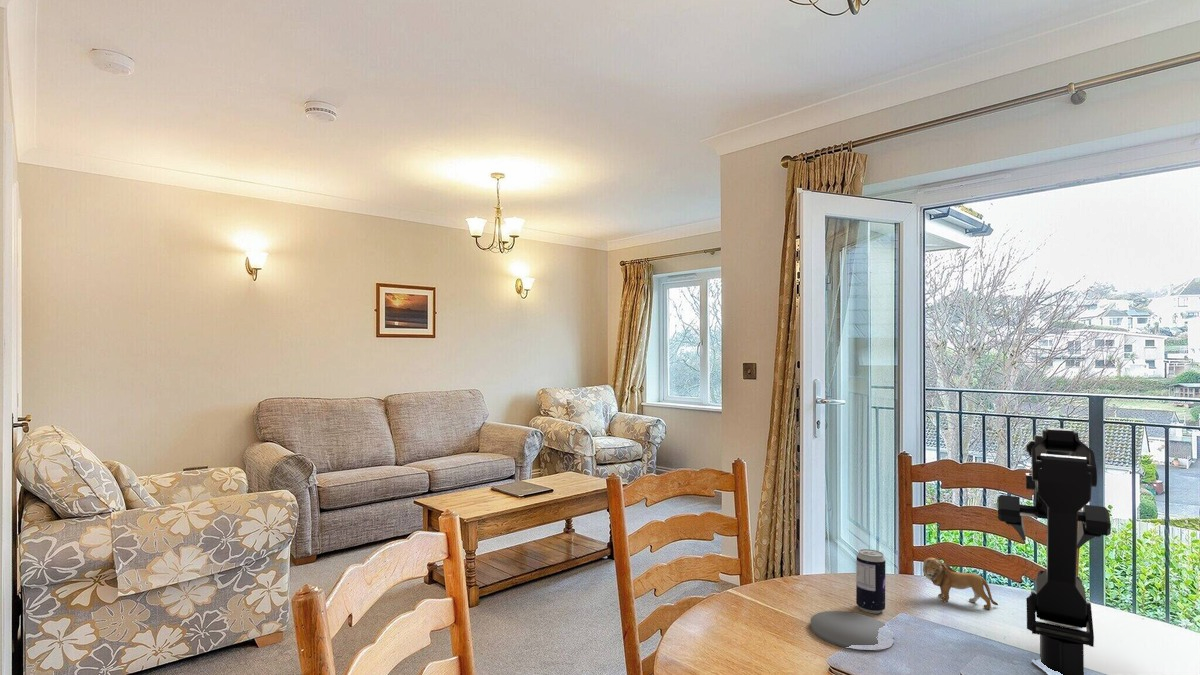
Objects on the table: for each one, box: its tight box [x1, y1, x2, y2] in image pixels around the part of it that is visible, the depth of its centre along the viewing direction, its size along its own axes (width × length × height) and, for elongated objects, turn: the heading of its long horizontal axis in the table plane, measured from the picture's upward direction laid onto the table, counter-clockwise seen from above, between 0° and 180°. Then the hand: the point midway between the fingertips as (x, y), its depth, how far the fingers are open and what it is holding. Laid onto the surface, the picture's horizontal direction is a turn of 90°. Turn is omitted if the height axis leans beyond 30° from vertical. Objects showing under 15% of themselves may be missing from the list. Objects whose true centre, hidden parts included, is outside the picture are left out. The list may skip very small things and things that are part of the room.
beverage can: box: [855, 548, 886, 614], centre depth 130 cm, size 6×6×12 cm
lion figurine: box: [922, 557, 999, 610], centre depth 135 cm, size 15×5×9 cm, turn 70°
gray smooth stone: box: [810, 610, 886, 649], centre depth 118 cm, size 15×15×1 cm
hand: (1050, 543), depth 130 cm, fingers open, 9 cm apart
